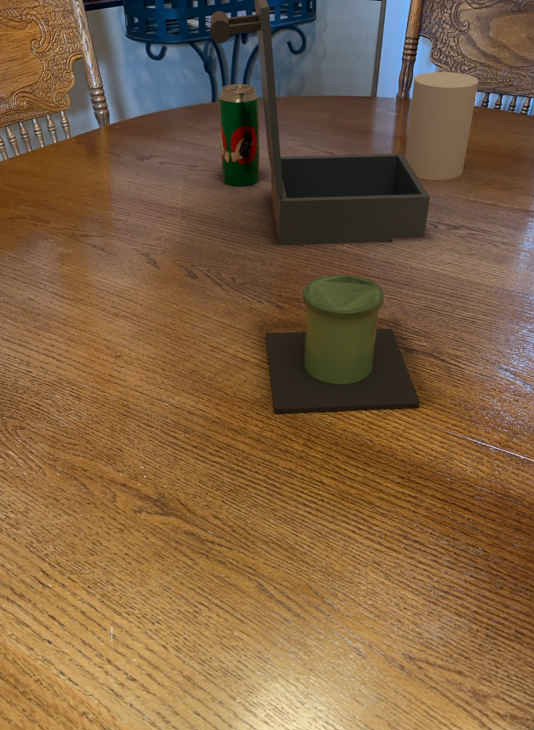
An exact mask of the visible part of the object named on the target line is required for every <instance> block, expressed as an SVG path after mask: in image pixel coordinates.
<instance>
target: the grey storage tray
mask: <svg viewBox="0 0 534 730" xmlns="http://www.w3.org/2000/svg"><path fill="white" fill-rule="evenodd" d="M281 168H282V181H283V194H284V195H283V196H279V197H277V196H276V192H275V187H274V181H273V176H272V171H271V170H270V171H271V172H270V175H271V176H270V179H271V180H270V181H271V182H270V183H271V185H270V189H271V190H270V191H271V192H270V193H271V196H270V197H271V198H270V199H271V204H272V209H273V214H274V215H273V216H274V220H275V226H276V231H277V232H276V233H277V238H278V243H279V244H278V245H279V246H303V245H335V244H339V245H340V244H366V243H393V240H392V239H418V238H419V239H421V238H425V234H426V233H425V232H426V226H427V219H428V212H429V205H430V200H431V196H430V194H429V193H428V192H427V190H426V189H425V186H424V185H423V184H422V182H421V180H420V178H418V177H417V176H416V174H415V172H414V171H413V169H412V168H411V166H410V164H409V163H408V161H407V160H406V158H405V155H404V153H369V154H368V153H367V154H333V155H332V154H330V155H298V156H297V155H296V156H292V155H291V156H290V155H289V156H281Z"/></svg>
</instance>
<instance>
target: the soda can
mask: <svg viewBox="0 0 534 730" xmlns="http://www.w3.org/2000/svg"><path fill="white" fill-rule="evenodd" d="M220 91H221V92H220V94H219V97H218V112H219V113H218V114H219V135H220V156H221V157H220V159H221V173H222V174H221V177H222V183H223V184H225V185H226V186H229V187H236V188H246V187H251V186H255V185H257V184H258V183H260V178H261V177H260V176H261V175H260V110H259V109H260V107H259V106H260V103H259V102H260V101H259V100H260V99H259V98H260V97H259V95H258V94H257V92H256V87H255V86H254V85H251V84H243V83H232V84H227V85H225V86H222V87H221V88H220Z"/></svg>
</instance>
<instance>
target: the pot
mask: <svg viewBox="0 0 534 730" xmlns="http://www.w3.org/2000/svg"><path fill="white" fill-rule="evenodd" d="M384 301H385V292H384V290H383V288H382V287H381V286H380V285H379V284H378V283H376V282H375V281H373V280H371V279H369V278H366V277H362V276H358V275H354V274H353V275H352V274H328V275H324V276H320V277H317V278H315V279H312V280H310V281H308V283H307V284H306V285H304V288H303V291H302V302H303V303H304V305H305V329H304V332H305V356H304V366H305V369H306V371H307V372H308V374H310V375H311V376H312V377H313V378H315V379H317V380H319V381H322V382H325V383H330V384H351V383H355V382H358V381H361V380H363V379H364V378H366V377H367V376H368V375H369V374H370V373H371V371H372V366H373V357H374V349H375V340H376V331H377V329H378V322H379V313H380V312H379V311H380V309H381V308H382V307H383V305H384V303H385V302H384Z"/></svg>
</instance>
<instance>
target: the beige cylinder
mask: <svg viewBox="0 0 534 730" xmlns="http://www.w3.org/2000/svg"><path fill="white" fill-rule="evenodd" d="M478 85H479V79H478V78H477V77H474V76H473V75H469V74H465V73H460V72H450V71H431V72H424V73H420V74H417V75H416V76H415V77H414V79H413V87H412V96H411V104H410V112H409V120H408V129H407V136H406V137H407V138H406V145H405V153H404V154H405V155H404V156H405V158H406V160H407V161H408V163H409V164H410V166H411V168H412V169H413V171H414V172H415V174H416V176H417V177H418V179H422V180H430V181H446V180H452V179H455V178H458V177H460V176H461V175H462V174H463V172H464V167H465V165H464V164H465V161H466V155H467V150H468V143H469V139H470V131H471V126H472V120H473V114H474V108H475V104H476V97H477V92H478Z"/></svg>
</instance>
